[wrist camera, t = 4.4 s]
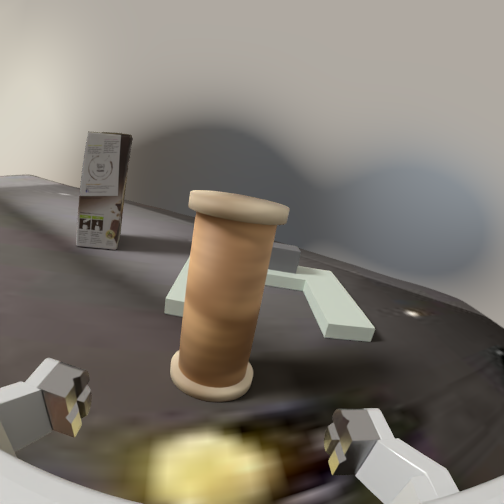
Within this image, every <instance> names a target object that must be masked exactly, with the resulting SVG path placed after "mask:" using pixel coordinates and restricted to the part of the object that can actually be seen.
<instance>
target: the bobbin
mask: <svg viewBox="0 0 504 504" xmlns="http://www.w3.org/2000/svg"><path fill="white" fill-rule="evenodd" d="M188 206H189V208H191V209H192V210H195V211H196V218H195V225H194V231H193V238H192V246H191V253H190V261H189V268H188V276H187V284H186V293H185V301H184V310H183V320H182V330H181V340H180V350H179V351H177V352H176V353H175V354H174V356H173V357H172V360H171V369H170V375H171V379H172V381H173V382H174V384H175V385H176V386H177V387H178V388H179V389H180V390H181V391H182V392H184V393H185V394H187V395H189V396H191V397H194V398H196V399H200V400H204V401H209V402H226V401H231V400H235V399H237V398H239V397H241V396H243V395H244V394H245V393H246V392H247V391H248V390H249V388H250V386H251V382H252V378H253V369H252V366H251V364H250V363H249V362H248V361H249V357H250V352H251V347H252V343H253V338H254V333H255V329H256V324H257V319H258V315H259V310H260V305H261V300H262V296H263V291H264V286H265V281H266V276H267V272H268V267H269V262H270V257H271V252H272V247H273V242H274V237H275V232H276V227H277V225H283V224H286V222H287V218H288V213H289V208H288V207H286V206H284V205H281V204H278V203H275V202H271V201H267V200H263V199H259V198H254V197H249V196H244V195H238V194H232V193H225V192H217V191H206V190H194V191H191V192H190V198H189V205H188Z"/></svg>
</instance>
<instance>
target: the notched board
mask: <svg viewBox="0 0 504 504" xmlns="http://www.w3.org/2000/svg"><path fill="white" fill-rule="evenodd" d="M300 253H301V252H300V250H299V249H298V247H297V246H292V245H286V244H280V243H275V242H273V247H272V252H271V257H270V262H269V267H268V272H267V276H266V281H265V285H267V286H274V287H280V288H287V289H293V290H300V291H303V292H304V294H305V296H306V298H307V300H308V303H309V305H310V307H311V309H312V311H313V313H314V316H315V318H316V320H317V322H318V324H319V327H320V329H321V331H322V333H323V336H324V337H326V338H335V339H345V340H356V341H368V342H371V339H372V336H373V334H374V331H375V328H374V326H373V325H372V324H371V322H370V321H369V320H368V318H367V317H366V316H365V314H364V313H363V312H362V310H361V309H360V308H359V307H358V305H357V304H356V303H355V301H354V300H353V299H352V298H351V296H350V295H349V294H348V292H347V291H346V290H345V289H344V287H343V286H342V285H341V284H340V282H339V281H338V280H337V278H336V277H335V276H334V275H333V273H332V272H331V271H326V270H320V269H314V268H307V267H301V266H298V262H299V258H300ZM189 261H190V257H189V258H188V260H187V262H186V264H185V265H184V267H183V269H182V271H181V272H180V274H179V276H178V278H177V279H176V281H175V283H174V285H173V286H172V288H171V290H170V292H169V293H168V295H167V297H166V301H165V314H171V315H176V316H181V317H183V310H184V301H185V293H186V284H187V276H188V268H189Z"/></svg>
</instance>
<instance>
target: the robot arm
mask: <svg viewBox="0 0 504 504" xmlns="http://www.w3.org/2000/svg"><path fill="white" fill-rule="evenodd" d="M89 381H90V379H89V373H88V371H86V370H84V369H81V368H78V367H75V366H72V365H69V364H66V363H63V362H60V361H57V360H54V359H51V358H46V359H45V360H44V361H43V362H42V363H41V365H40V366H39V367H38V368H37V369H36V370H35V371H34V372H33V374H32V375H31V376H30V377H29V378H28V379H27V381H26V382H25V383H24V382H18V383H15V384H12V385H8V386H5V387H2V388H0V504H142V503H138V502H134V501H130V500H126V499H122V498H119V497H115V496H112V495H108V494H105V493H102V492H99V491H96V490H93V489H90V488H87V487H84V486H81V485H78V484H76V483H73V482H70V481H68V480H65V479H62V478H60V477H57V476H55V475H53V474H50V473H48V472H46V471H43V470H41V469H39V468H37V467H34V466H32V465H30V464H28V463H26V462H24V461H22V460H20V459H18V458H17V456H16V454H15V452H16V451H18V450H20V449H22V448H24V447H25V446H27V445H29V444H31V443H33V442H34V441H36V440H38V439H40V438H41V437H43V436H45V435H47V434H48V433H50V432H52V430H54V431H57V432H60V433H63V434H66V435H68V436H71V437H75V436H76V434H77V432H78V430H79V429H80V427H81V425H82V423H81V418H83V417H85V416H87V414H88V412H89V410H90V406H91V399H92V395H91V390H90V388H89V387H88V386H87V384H88V382H89ZM332 418H333V422H334V423H332V424H331V425H329V426H328V428H327V430H326V432H325V438H324V446H325V450H326V452H327V453H328V454H329V455H330V456H331V457H330V459H329V461H328V462H329V465H330V469H331V473H332V475H355V476H356V477H357V478H358V479H359V480H360V481H361V482H362V483H363V484H364V485H365V486H366V487H367V488H368V489H369V490H370V491H371V492H372V493H373V494H375V495H376V496H377V497H378V498H379V499H380V500H381V501H382V502H383V503H384V504H504V475H502V476H500V477H498V478H495V479H493V480H490V481H488V482H485V483H483V484H480V485H477V486H475V487H472V488H469V489H466V490H463V491H460V492H459V490H458V488H457V486H456V485H455V483H454V481H453V479H452V477H451V476H450V474H449V472H448V470H447V469H446V468H444V467H443V466H441V465H439V464H438V463H436V462H435V461H433V460H431V459H430V458H428V457H426V456H425V455H423V454H422V453H420V452H419V451H417V450H415V449H414V448H412V447H411V446H409V445H408V444H406V443H405V442H403V441H402V440H400V439H395V438H394V436H393V434H392V432H391V430H390V428H389V426H388V424H387V422H386V420H385V419H384V417H383V415H382V413H381V411H380V410H379V409H378V408H369V409H337V410H336V411H335V412H334V414H333V417H332Z"/></svg>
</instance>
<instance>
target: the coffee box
mask: <svg viewBox="0 0 504 504" xmlns="http://www.w3.org/2000/svg"><path fill="white" fill-rule="evenodd" d="M131 145H132V136H131V135H128V134H122V133H107V132H102V133H98V132H88V137H87V142H86V148H85V155H84V162H83V170H82V177H81V186H80V196H79V208H78V222H77V239H76V246H83V247H93V248H103V249H112V250H115V249H117V246H118V242H119V238H120V234H121V223H122V214H123V205H124V195H125V188H126V180H127V172H128V165H129V158H130V151H131Z"/></svg>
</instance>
